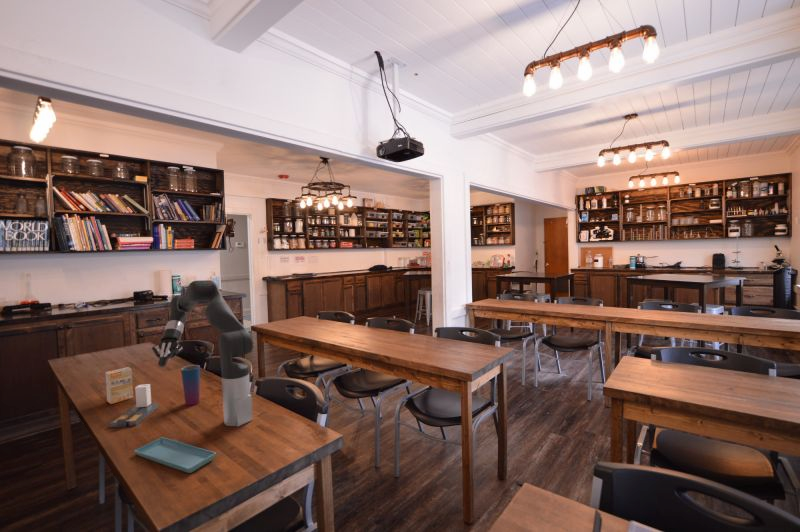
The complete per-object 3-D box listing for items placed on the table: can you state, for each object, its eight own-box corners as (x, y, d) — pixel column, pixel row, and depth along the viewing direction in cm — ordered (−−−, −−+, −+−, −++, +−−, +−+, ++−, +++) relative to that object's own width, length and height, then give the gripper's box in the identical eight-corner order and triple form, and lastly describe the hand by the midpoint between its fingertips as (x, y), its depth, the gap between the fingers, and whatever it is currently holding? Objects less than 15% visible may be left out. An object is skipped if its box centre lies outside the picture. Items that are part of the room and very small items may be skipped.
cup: (193, 407, 152) (191, 370, 151) (179, 406, 153) (177, 370, 152) (205, 400, 159) (203, 365, 158) (191, 399, 160) (189, 364, 159)
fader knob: (140, 404, 152) (139, 384, 151) (151, 403, 152) (150, 383, 152) (136, 407, 149) (135, 387, 148) (147, 406, 149) (146, 386, 149)
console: (136, 407, 153) (135, 400, 153) (160, 405, 154) (159, 399, 154) (108, 428, 135) (107, 421, 135) (135, 426, 136) (134, 419, 136)
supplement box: (110, 404, 156) (108, 373, 156) (106, 402, 159) (104, 371, 158) (133, 398, 163) (131, 368, 162) (129, 395, 166) (127, 366, 165)
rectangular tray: (133, 457, 117) (132, 449, 117) (162, 442, 126) (162, 435, 125) (189, 477, 106) (188, 469, 106) (217, 460, 114) (216, 452, 114)
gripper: (154, 328, 173) (141, 363, 161) (185, 327, 174) (174, 361, 163) (161, 337, 178) (148, 371, 166) (190, 335, 180) (180, 369, 168)
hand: (161, 366), depth 165 cm, fingers closed
